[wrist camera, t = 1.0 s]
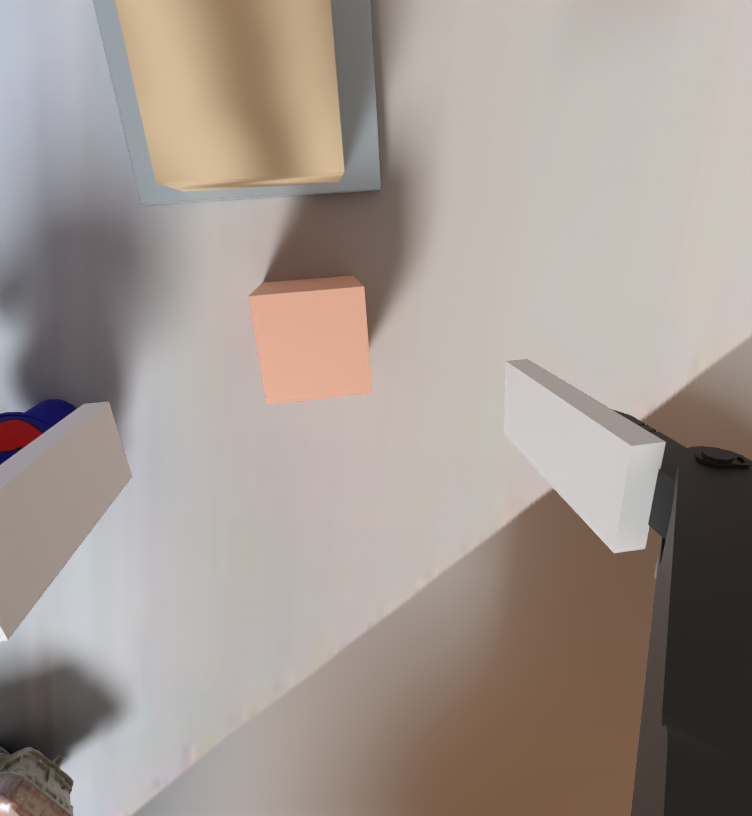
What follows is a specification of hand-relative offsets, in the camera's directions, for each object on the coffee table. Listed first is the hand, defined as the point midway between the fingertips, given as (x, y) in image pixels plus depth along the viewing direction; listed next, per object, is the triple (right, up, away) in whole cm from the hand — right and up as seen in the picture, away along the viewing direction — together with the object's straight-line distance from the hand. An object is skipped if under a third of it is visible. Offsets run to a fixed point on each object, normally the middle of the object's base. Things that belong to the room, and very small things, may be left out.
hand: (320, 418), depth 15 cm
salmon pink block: (-2, +6, +16) cm, 17 cm away
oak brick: (-5, +18, +10) cm, 21 cm away
